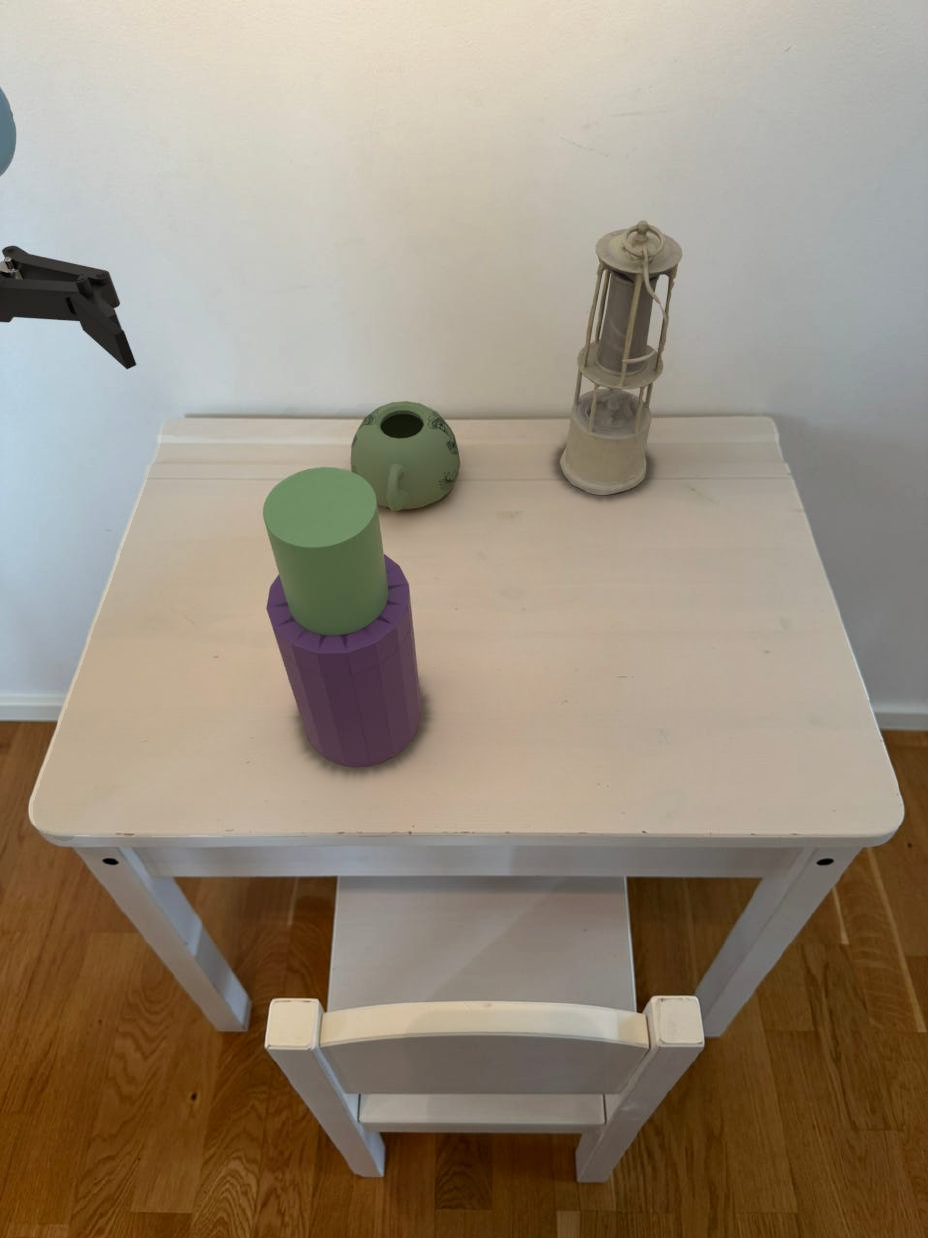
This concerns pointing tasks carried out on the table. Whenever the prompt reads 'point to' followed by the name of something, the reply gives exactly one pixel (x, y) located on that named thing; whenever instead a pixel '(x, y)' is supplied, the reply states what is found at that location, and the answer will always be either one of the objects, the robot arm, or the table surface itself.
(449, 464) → the green round pot
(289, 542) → the green cylinder
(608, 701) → the table surface
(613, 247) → the lamp
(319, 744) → the jar
